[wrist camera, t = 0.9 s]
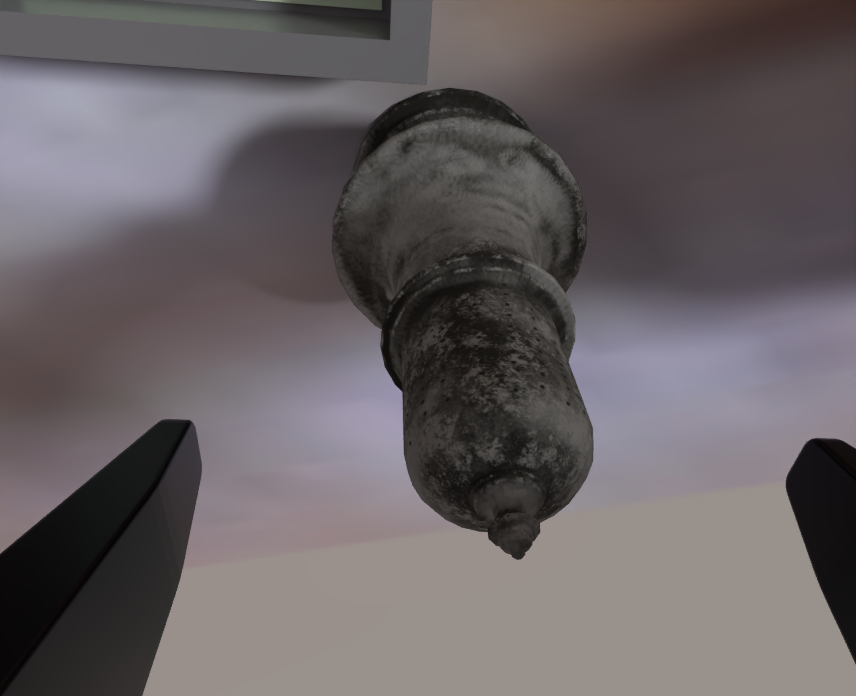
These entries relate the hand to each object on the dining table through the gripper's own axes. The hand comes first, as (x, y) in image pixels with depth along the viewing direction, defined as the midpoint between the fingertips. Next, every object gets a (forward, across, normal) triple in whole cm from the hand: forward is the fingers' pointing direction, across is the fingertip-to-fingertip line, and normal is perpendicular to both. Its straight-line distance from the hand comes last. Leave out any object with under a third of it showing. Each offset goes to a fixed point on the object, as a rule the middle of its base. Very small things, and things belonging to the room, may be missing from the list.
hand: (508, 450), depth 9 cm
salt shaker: (+10, 0, 0) cm, 10 cm away
